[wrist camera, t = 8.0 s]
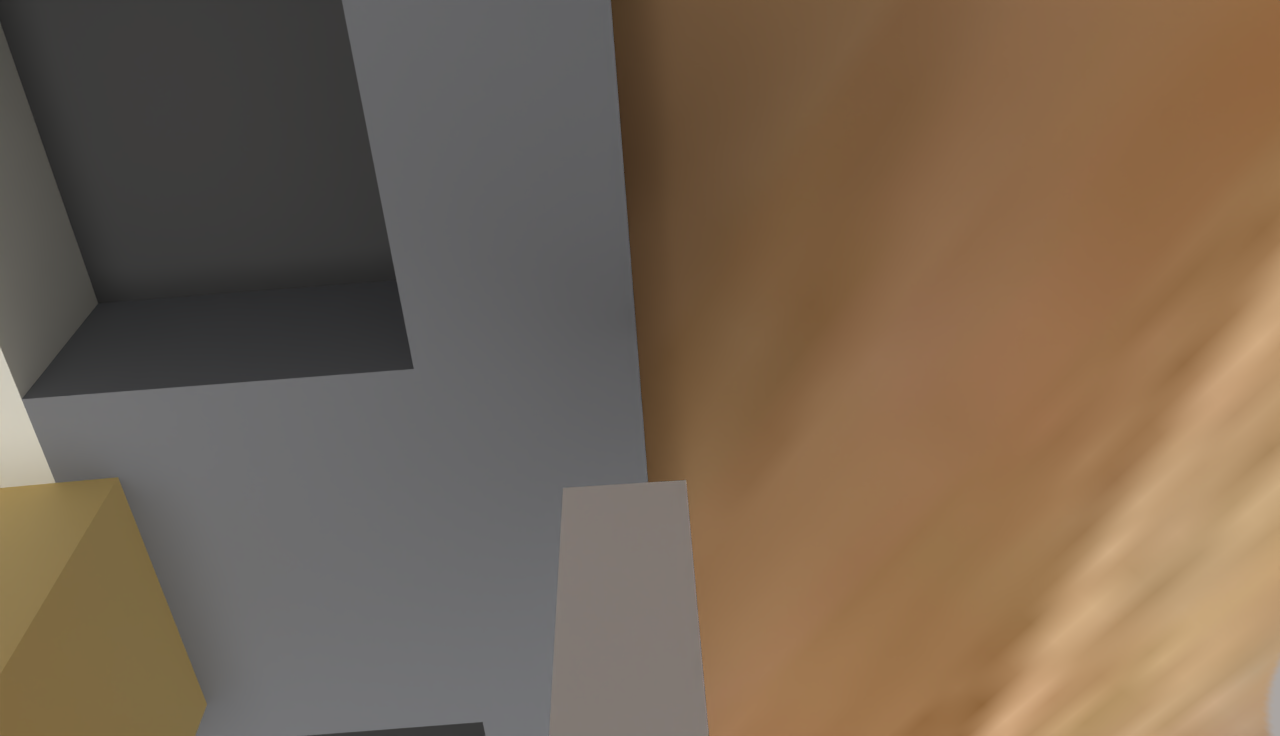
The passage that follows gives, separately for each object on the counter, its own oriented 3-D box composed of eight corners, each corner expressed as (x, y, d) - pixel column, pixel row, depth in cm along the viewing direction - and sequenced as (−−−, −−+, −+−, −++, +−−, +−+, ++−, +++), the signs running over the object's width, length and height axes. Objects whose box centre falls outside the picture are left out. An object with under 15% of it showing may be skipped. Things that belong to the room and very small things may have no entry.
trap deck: (595, -198, 19) (599, -148, 13) (673, 809, 33) (692, 1061, 27) (-461, -117, 19) (-934, -30, 13) (47, 858, 33) (-76, 1121, 27)
